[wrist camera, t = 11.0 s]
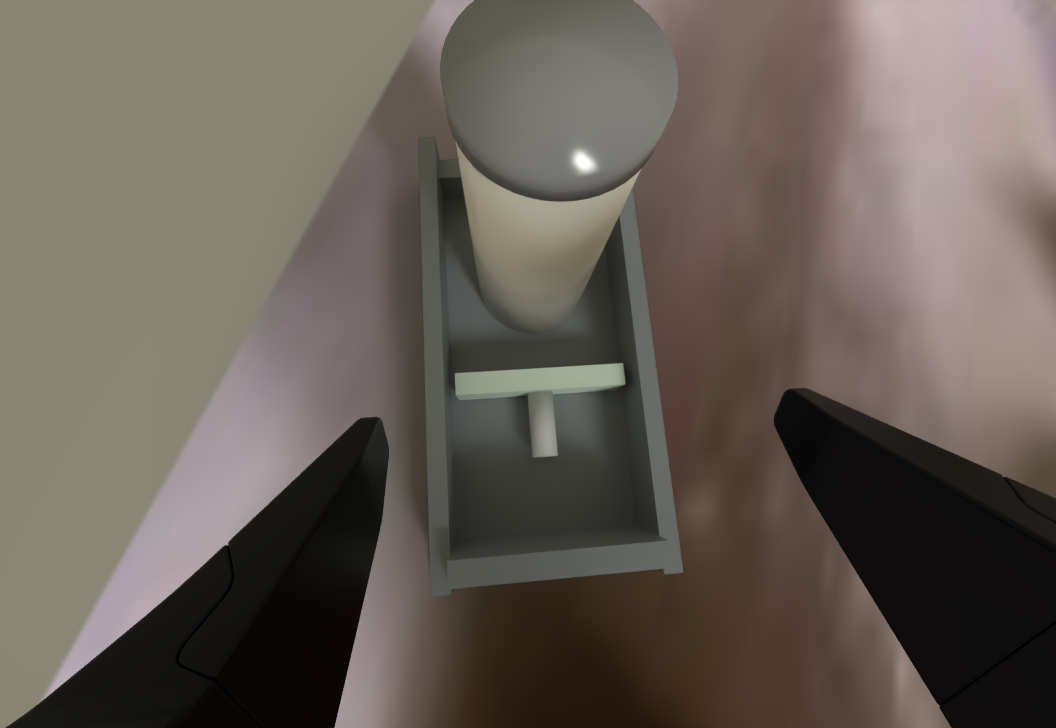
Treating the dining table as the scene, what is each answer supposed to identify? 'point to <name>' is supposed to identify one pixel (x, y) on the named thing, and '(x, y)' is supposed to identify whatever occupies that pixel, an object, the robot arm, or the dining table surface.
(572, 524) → the pusher lane
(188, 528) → the dining table surface
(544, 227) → the jar
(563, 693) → the dining table surface
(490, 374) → the spring pusher
